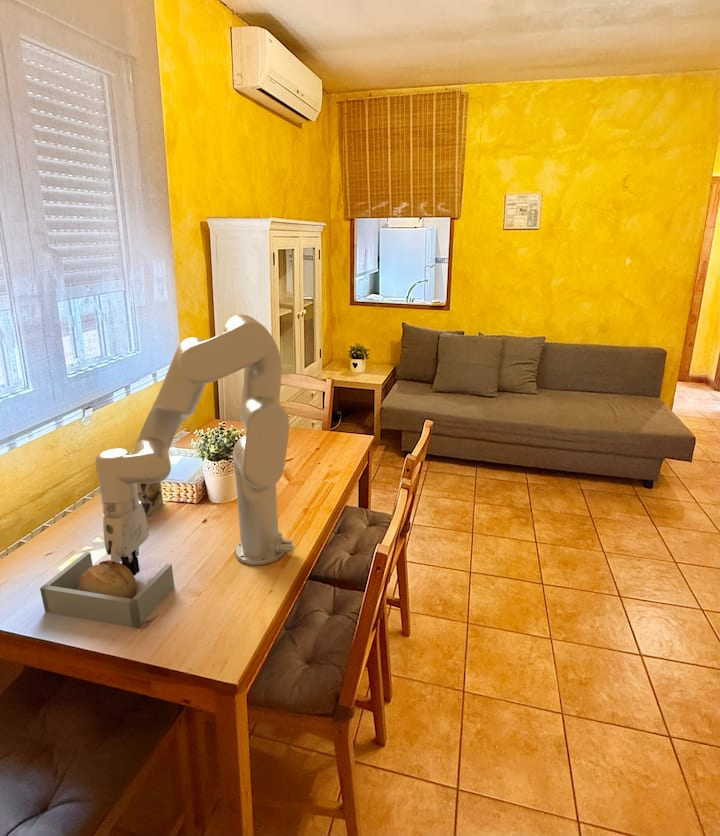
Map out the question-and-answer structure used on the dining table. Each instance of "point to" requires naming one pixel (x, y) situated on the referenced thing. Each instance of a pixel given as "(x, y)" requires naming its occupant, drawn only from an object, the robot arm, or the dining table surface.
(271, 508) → the robot arm
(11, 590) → the dining table surface
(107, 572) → the bread roll
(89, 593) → the box
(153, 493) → the coffee box
